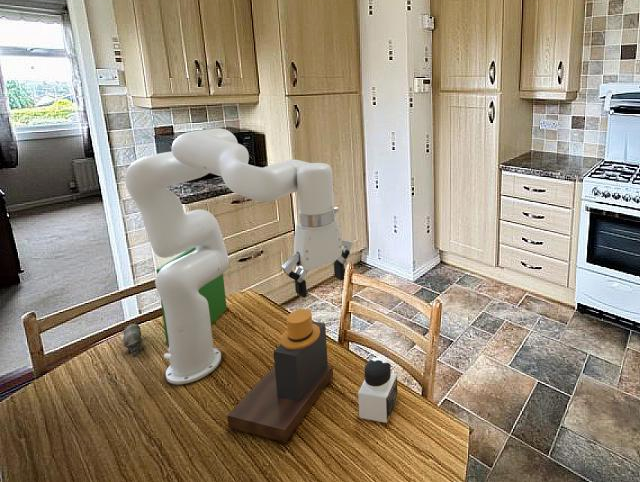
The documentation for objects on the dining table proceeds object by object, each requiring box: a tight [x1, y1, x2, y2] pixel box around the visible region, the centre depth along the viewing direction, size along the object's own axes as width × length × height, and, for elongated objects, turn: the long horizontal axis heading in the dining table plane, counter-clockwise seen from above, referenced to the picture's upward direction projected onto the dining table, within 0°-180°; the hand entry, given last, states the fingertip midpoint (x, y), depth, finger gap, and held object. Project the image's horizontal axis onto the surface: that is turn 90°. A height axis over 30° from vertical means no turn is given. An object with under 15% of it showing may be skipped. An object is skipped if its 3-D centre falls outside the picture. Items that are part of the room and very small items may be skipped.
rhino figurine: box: [122, 323, 143, 358], centre depth 108 cm, size 4×14×6 cm, turn 42°
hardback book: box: [156, 247, 228, 345], centre depth 118 cm, size 18×7×24 cm, turn 179°
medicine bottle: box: [357, 356, 399, 424], centre depth 89 cm, size 7×7×12 cm
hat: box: [280, 308, 320, 349], centre depth 91 cm, size 9×9×6 cm
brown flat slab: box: [226, 364, 334, 444], centre depth 91 cm, size 15×19×4 cm
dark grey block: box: [273, 320, 329, 401], centre depth 92 cm, size 6×12×12 cm, turn 166°
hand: (321, 286), depth 88 cm, fingers open, 9 cm apart
